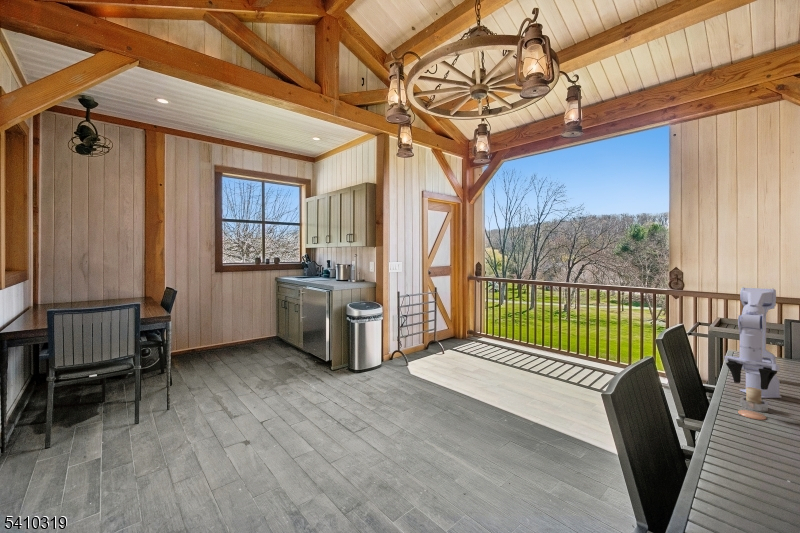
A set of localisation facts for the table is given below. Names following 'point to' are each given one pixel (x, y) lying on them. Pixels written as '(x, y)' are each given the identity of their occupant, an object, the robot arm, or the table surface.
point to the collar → (754, 405)
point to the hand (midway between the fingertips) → (750, 385)
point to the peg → (753, 395)
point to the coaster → (752, 414)
